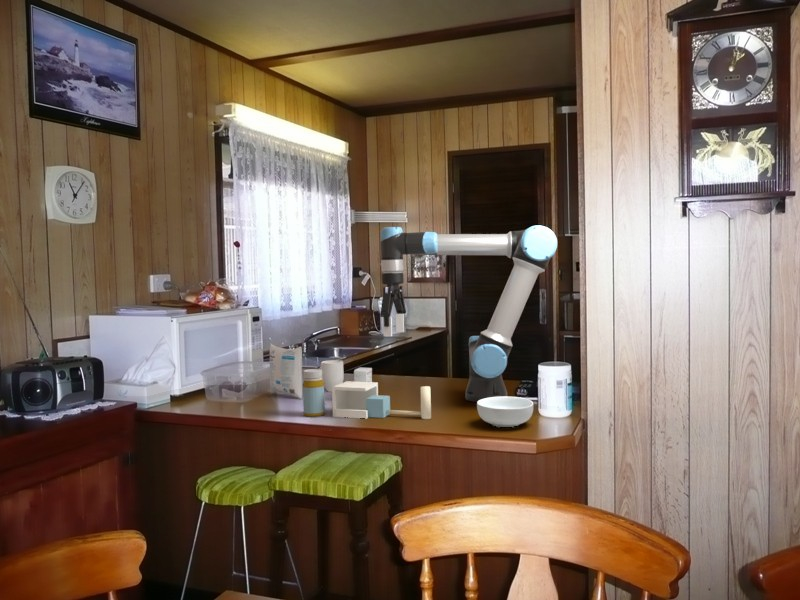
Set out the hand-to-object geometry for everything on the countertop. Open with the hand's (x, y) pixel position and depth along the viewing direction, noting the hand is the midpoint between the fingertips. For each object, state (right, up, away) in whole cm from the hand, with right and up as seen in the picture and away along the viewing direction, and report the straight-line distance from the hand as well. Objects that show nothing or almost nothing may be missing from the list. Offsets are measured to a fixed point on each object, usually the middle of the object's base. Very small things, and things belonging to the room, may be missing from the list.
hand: (394, 334), depth 219 cm
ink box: (-11, -26, +15) cm, 32 cm away
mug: (-26, -25, +37) cm, 51 cm away
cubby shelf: (-12, -26, -7) cm, 30 cm away
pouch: (-42, -26, +28) cm, 57 cm away
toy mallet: (+2, -26, -12) cm, 29 cm away
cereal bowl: (+34, -26, -26) cm, 50 cm away
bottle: (-27, -27, -6) cm, 38 cm away
